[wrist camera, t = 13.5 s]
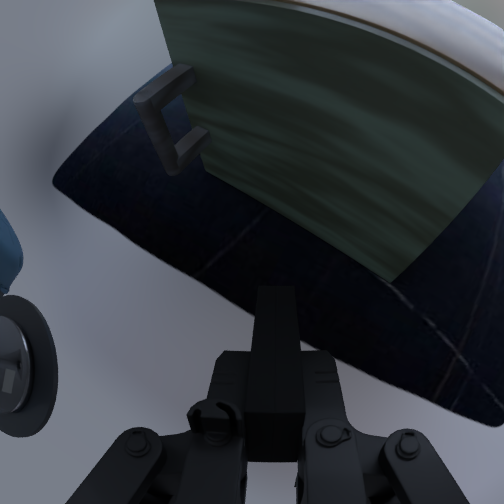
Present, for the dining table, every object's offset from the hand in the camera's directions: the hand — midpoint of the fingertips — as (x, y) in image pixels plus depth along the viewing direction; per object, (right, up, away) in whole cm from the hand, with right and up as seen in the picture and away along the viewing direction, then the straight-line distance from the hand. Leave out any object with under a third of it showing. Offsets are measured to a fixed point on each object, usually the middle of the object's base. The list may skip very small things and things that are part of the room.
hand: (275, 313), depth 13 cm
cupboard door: (+2, +4, +21) cm, 21 cm away
